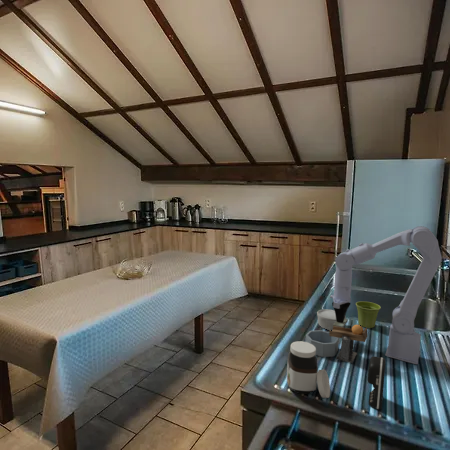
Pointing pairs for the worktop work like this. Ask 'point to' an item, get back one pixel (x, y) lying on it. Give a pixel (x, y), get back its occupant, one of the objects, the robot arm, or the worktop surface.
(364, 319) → the plant pot
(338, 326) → the lever
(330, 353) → the bowl
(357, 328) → the ball
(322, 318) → the ramekin
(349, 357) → the fulcrum
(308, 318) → the worktop surface
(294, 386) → the spread jar
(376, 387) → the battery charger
